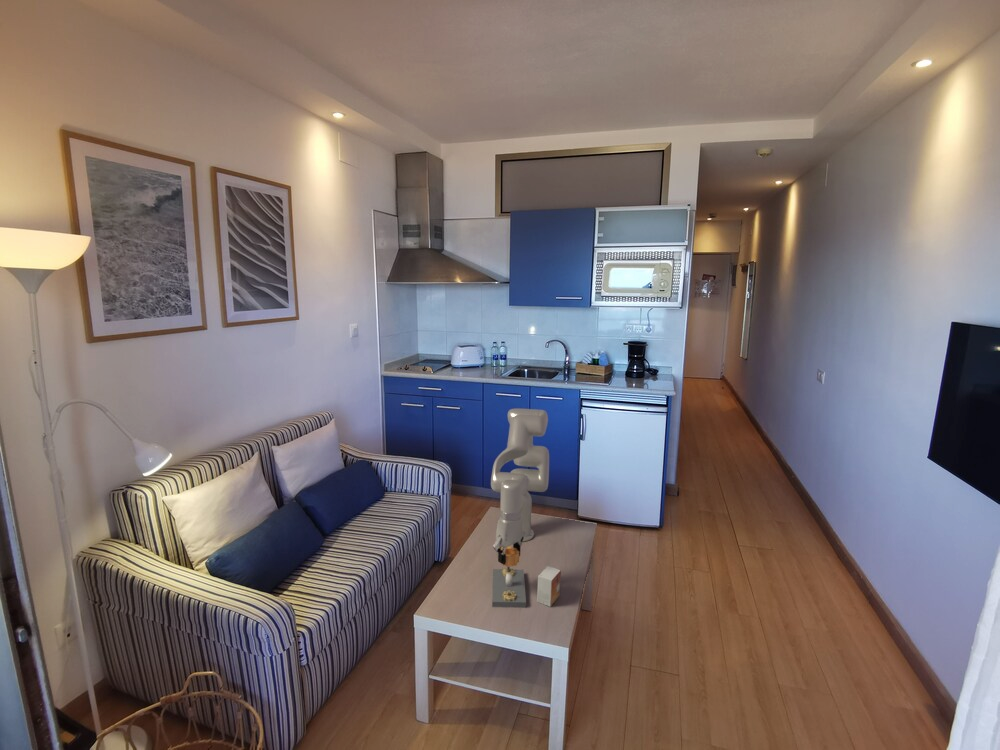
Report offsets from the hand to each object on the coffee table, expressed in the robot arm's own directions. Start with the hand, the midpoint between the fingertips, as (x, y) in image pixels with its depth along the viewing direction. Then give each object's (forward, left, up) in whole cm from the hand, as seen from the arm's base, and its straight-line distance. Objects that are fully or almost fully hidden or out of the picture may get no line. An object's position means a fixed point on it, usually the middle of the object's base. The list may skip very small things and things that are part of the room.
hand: (509, 558), depth 181 cm
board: (-1, 0, -13) cm, 13 cm away
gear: (0, 0, -1) cm, 1 cm away
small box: (+4, +15, -13) cm, 20 cm away
